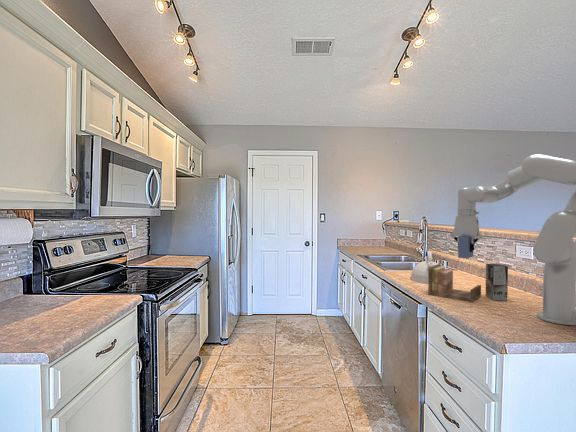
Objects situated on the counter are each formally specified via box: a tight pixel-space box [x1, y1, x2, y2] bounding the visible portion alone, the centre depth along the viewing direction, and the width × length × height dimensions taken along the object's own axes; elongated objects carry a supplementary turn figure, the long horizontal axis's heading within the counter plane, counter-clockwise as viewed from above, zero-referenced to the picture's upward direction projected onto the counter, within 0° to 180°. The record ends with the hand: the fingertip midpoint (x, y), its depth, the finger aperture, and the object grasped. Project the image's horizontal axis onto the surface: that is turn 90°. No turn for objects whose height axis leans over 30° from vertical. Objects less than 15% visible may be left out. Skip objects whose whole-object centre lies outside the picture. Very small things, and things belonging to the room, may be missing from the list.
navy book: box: [457, 236, 474, 259], centre depth 154 cm, size 4×10×10 cm, turn 137°
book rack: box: [427, 263, 482, 303], centre depth 158 cm, size 20×14×14 cm
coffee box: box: [485, 263, 509, 302], centre depth 154 cm, size 9×6×16 cm
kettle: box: [410, 250, 439, 285], centre depth 193 cm, size 20×21×18 cm
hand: (465, 251), depth 154 cm, fingers closed on navy book, 4 cm apart
